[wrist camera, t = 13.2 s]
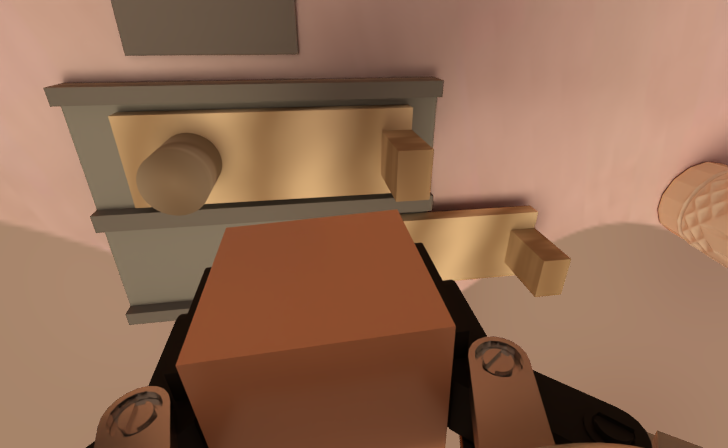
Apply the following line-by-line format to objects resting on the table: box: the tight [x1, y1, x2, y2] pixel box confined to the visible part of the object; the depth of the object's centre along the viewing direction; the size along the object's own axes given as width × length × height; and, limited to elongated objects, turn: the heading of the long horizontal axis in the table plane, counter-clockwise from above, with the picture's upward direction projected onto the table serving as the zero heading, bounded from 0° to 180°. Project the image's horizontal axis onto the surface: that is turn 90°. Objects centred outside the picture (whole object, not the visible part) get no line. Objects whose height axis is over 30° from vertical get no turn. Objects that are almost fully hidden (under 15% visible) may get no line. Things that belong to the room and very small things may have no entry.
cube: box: [176, 209, 456, 448], centre depth 10 cm, size 5×5×5 cm
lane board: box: [44, 77, 444, 325], centre depth 27 cm, size 23×17×2 cm
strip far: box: [400, 206, 571, 297], centre depth 28 cm, size 18×6×6 cm, turn 91°
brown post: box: [136, 133, 222, 216], centre depth 22 cm, size 4×4×4 cm
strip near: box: [108, 104, 434, 208], centre depth 23 cm, size 18×6×6 cm, turn 91°
